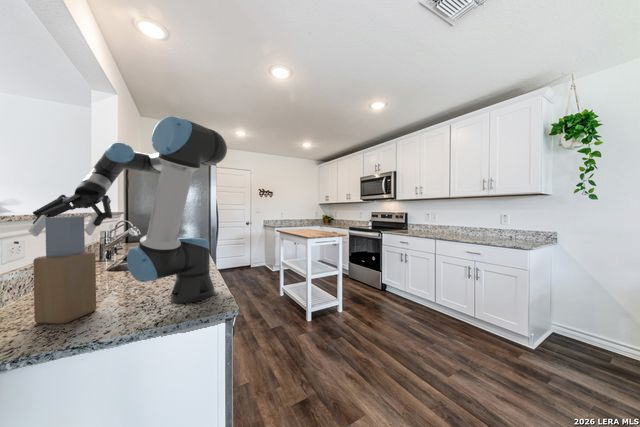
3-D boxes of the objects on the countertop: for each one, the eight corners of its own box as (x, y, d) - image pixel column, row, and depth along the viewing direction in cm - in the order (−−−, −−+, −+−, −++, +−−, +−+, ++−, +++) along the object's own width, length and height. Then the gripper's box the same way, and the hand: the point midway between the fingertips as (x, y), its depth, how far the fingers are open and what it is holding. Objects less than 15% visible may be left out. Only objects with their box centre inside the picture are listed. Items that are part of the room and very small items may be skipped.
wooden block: (69, 310, 79) (68, 251, 79) (97, 310, 79) (97, 251, 79) (32, 324, 69) (31, 257, 69) (64, 325, 69) (63, 258, 69)
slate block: (84, 252, 78) (84, 216, 77) (70, 255, 72) (69, 217, 72) (62, 253, 76) (61, 216, 76) (46, 256, 70) (45, 217, 70)
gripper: (136, 196, 92) (114, 239, 78) (57, 195, 86) (17, 241, 71) (129, 181, 87) (103, 224, 72) (44, 179, 80) (-2, 225, 66)
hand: (60, 233), depth 72 cm, fingers open, 13 cm apart
